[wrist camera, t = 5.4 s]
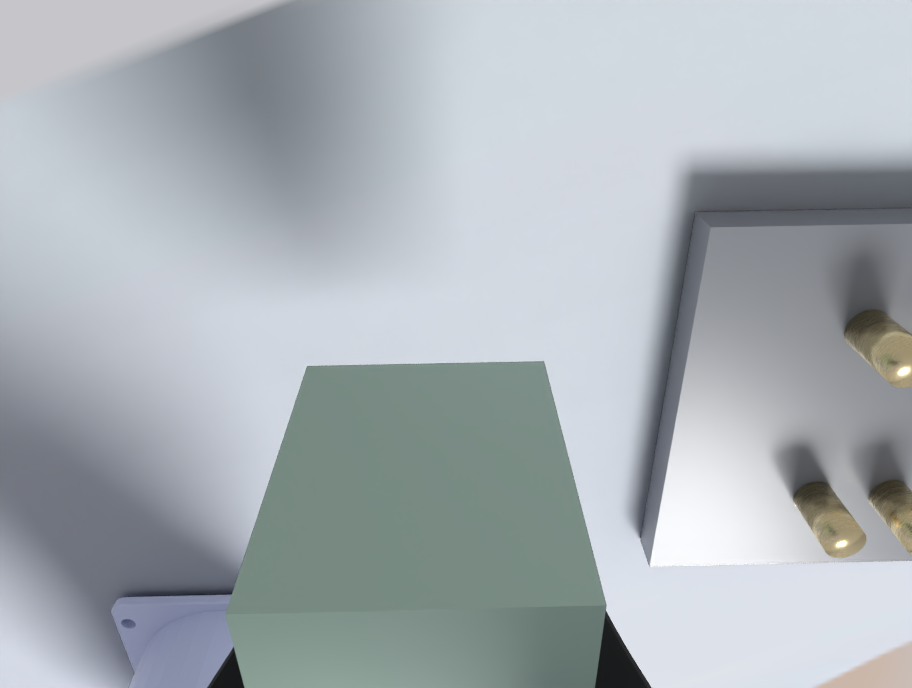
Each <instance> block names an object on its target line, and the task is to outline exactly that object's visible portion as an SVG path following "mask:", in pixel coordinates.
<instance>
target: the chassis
mask: <svg viewBox="0 0 912 688" xmlns="http://www.w3.org/2000/svg"><path fill="white" fill-rule="evenodd" d="M640 541H641V543H642V546H643V549H644V552H645V555H646V558H647V561H648V564H649V567H658V566H701V565H745V564H788V563H832V562H875V561H912V208H889V209H833V210H777V211H720V212H695V216H694V222H693V228H692V234H691V240H690V246H689V252H688V258H687V264H686V270H685V276H684V282H683V288H682V294H681V300H680V306H679V312H678V318H677V324H676V330H675V336H674V342H673V348H672V354H671V360H670V366H669V372H668V378H667V384H666V390H665V396H664V402H663V408H662V414H661V420H660V426H659V432H658V438H657V444H656V450H655V456H654V462H653V468H652V474H651V480H650V486H649V492H648V498H647V504H646V510H645V516H644V522H643V528H642V534H641V540H640Z"/></svg>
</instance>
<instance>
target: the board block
mask: <svg viewBox="0 0 912 688" xmlns="http://www.w3.org/2000/svg"><path fill="white" fill-rule="evenodd" d="M606 606H607V605H606V601H605V597H604V593H603V590H602V586H601V582H600V578H599V574H598V570H597V566H596V562H595V558H594V554H593V551H592V547H591V543H590V539H589V535H588V531H587V527H586V523H585V519H584V515H583V512H582V508H581V504H580V500H579V496H578V492H577V488H576V484H575V480H574V476H573V473H572V469H571V465H570V461H569V457H568V453H567V449H566V445H565V441H564V437H563V434H562V430H561V426H560V422H559V418H558V414H557V410H556V406H555V402H554V398H553V394H552V391H551V387H550V383H549V379H548V375H547V371H546V367H545V363H544V361H535V362H486V363H437V364H387V365H338V366H307V368H306V371H305V374H304V377H303V380H302V383H301V386H300V389H299V392H298V395H297V398H296V401H295V404H294V408H293V411H292V414H291V417H290V420H289V423H288V426H287V429H286V432H285V435H284V438H283V441H282V444H281V447H280V450H279V453H278V456H277V459H276V462H275V465H274V468H273V471H272V474H271V477H270V480H269V483H268V486H267V489H266V492H265V495H264V498H263V501H262V504H261V507H260V510H259V514H258V517H257V520H256V523H255V526H254V529H253V532H252V535H251V538H250V541H249V544H248V547H247V550H246V553H245V556H244V559H243V562H242V565H241V568H240V571H239V574H238V577H237V580H236V583H235V586H234V589H233V592H232V595H231V598H230V601H229V604H228V607H227V610H226V613H225V616H226V620H227V623H228V627H229V631H230V635H231V638H232V642H233V646H234V650H235V654H236V657H237V661H238V665H239V669H240V672H241V676H242V680H243V684H244V688H595V683H596V676H597V669H598V662H599V655H600V648H601V641H602V634H603V627H604V620H605V613H606Z"/></svg>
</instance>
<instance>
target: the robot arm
mask: <svg viewBox="0 0 912 688" xmlns="http://www.w3.org/2000/svg"><path fill="white" fill-rule="evenodd" d="M230 598H231V595H191V596H148V597H123V598H119V599H118V600H116V602H115V604H114V606H113V608H112V610H111V614H112V616H113V619H114V622H115V624H116V627H117V629H118V632H119V634H120V637H121V640H122V642H123V645H124V647H125V650H126V652H127V655H128V658H129V660H130V663H131V665H132V668H133V670H134V673H135V674H134V676H133V678H132V681H131V683H130V685H129V688H244V684H243V680H242V676H241V672H240V669H239V665H238V661H237V657H236V654H235V650H234V646H233V642H232V638H231V635H230V631H229V627H228V623H227V620H226V616H225V613H226V610H227V607H228V604H229V601H230ZM595 688H651V686H650V685H649V683H648V682H647V680H646V678H645V677H644V675H643V674H642V672H641V670H640V669H639V667H638V666H637V664H636V662H635V661H634V659H633V658H632V656H631V654H630V653H629V651H628V649H627V648H626V646H625V644H624V642H623V641H622V639H621V637H620V635H619V634H618V632H617V630H616V628H615V627H614V625H613V623H612V621H611V619H610V618H609V616H608V614H607V612H606V613H605V620H604V627H603V634H602V641H601V648H600V655H599V662H598V669H597V676H596V683H595Z"/></svg>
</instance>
